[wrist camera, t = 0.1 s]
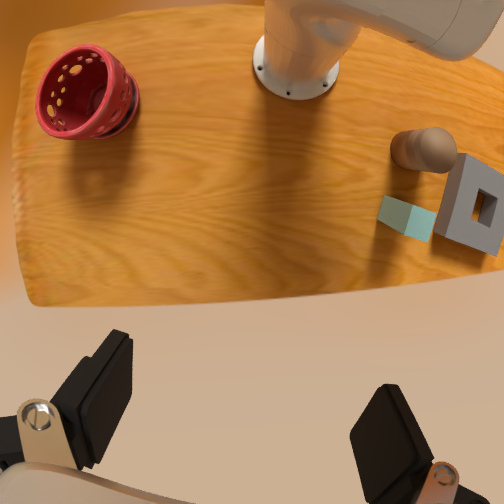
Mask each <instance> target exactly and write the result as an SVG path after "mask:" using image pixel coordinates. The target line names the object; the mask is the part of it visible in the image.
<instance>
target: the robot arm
mask: <svg viewBox="0 0 504 504" xmlns="http://www.w3.org/2000/svg"><path fill="white" fill-rule="evenodd" d="M503 10H504V0H265V25H264V35H263V36H262V37H261V38H260V39H259V41H258V42H257V44H256V46H255V48H254V52H253V66H254V70H255V73H256V75H257V77H258V79H259V80H260V82H261V83H262V84H263V85H264V86H265V87H266V88H267V89H268V90H270V91H271V92H272V93H274V94H276V95H278V96H280V97H283V98H286V99H290V100H308V99H312V98H315V97H318V96H320V95H322V94H323V93H324V92H326V91H327V90H328V89H329V88H330V87H331V86H332V85H333V83H334V82H335V80H336V78H337V76H338V72H339V59H340V58H341V57H342V56H343V55H344V53H345V52H346V51H347V50H348V49H349V47H350V46H351V45H352V44H353V42H354V41H355V40H356V39H357V37H358V35H359V33H360V31H361V27H365V28H370V29H373V30H375V31H378V32H380V33H383V34H385V35H388V36H390V37H392V38H395V39H397V40H399V41H402V42H404V43H406V44H408V45H410V46H412V47H414V48H416V49H419V50H421V51H423V52H425V53H427V54H429V55H431V56H434V57H436V58H438V59H441V60H445V61H451V62H456V61H461V60H465V59H467V58H469V57H470V56H472V55H473V54H474V53H476V52H477V51H478V50H479V49H480V48H481V47H482V45H483V44H484V43H485V42H486V40H487V39H488V37H489V36H490V34H491V32H492V31H493V29H494V27H495V25H496V24H497V22H498V20H499V18H500V16H501V14H502V12H503ZM259 68H261V69H262V70H261V71H259V70H258V69H259ZM323 85H325V86H326V87H323ZM287 92H289V93H290V95H287V94H286V93H287ZM132 359H133V339H130V338H129V334H127V333H124V332H121V331H118V330H115V329H113V330H112V331H111V332H110V334H109V335H108V336H107V338H106V339H105V340H104V342H103V343H102V344H101V345H100V347H99V348H98V349H97V351H96V352H95V353H94V354H93V356H92V357H88V356H85V357H84V358H83V359H82V360H81V361H80V362H79V363H78V365H77V366H76V367H75V369H74V370H73V371H72V372H71V374H70V375H69V376H68V378H67V379H66V380H65V382H64V383H63V384H62V386H61V387H60V388H59V390H58V391H57V392H56V394H55V395H54V396H53V398H52V399H51V400H50V402H48V401H46V400H42V399H31V400H28V401H26V402H24V403H23V404H22V405H21V406H20V407H19V409H18V411H17V415H15V416H8V417H0V504H194V503H189V502H185V501H180V500H176V499H172V498H168V497H164V496H159V495H156V494H152V493H149V492H145V491H142V490H138V489H135V488H131V487H128V486H125V485H122V484H119V483H116V482H113V481H110V480H107V479H104V478H101V477H98V476H95V475H93V474H90V473H86V472H83V471H81V470H82V469H83V467H84V466H85V467H88V468H90V469H92V468H93V466H94V463H97V464H99V463H100V462H101V460H102V458H103V455H104V453H105V451H106V449H107V446H108V444H109V442H110V440H111V438H112V436H113V434H114V432H115V430H116V427H117V425H118V423H119V421H120V419H121V417H122V415H123V413H124V411H125V408H126V407H127V405H128V402H129V400H130V398H131V395H132V361H133V360H132ZM350 441H351V445H352V449H353V453H354V456H355V460H356V464H357V467H358V472H359V476H360V479H361V484H362V488H363V492H364V496H365V500H366V502H367V503H369V504H490V503H489V501H488V500H487V499H486V498H484V497H482V496H481V495H479V494H476V493H475V492H473V491H471V490H469V489H467V488H465V487H463V486H461V485H459V474H458V472H457V470H456V469H455V468H454V467H453V466H452V465H451V464H449V463H446V462H436V463H435V464H433V463H432V460H433V459H434V456H433V454H432V452H431V450H430V448H429V446H428V444H427V441H426V439H425V438H424V435H423V433H422V431H421V429H420V427H419V425H418V423H417V421H416V419H415V417H414V415H413V413H412V411H411V409H410V407H409V405H408V403H407V401H406V399H405V397H404V395H403V393H402V392H401V390H400V388H399V386H398V385H396V384H383V385H382V386H381V387H379V388H378V389H377V390H376V392H375V393H374V395H373V397H372V398H371V400H370V402H369V403H368V405H367V407H366V408H365V410H364V412H363V413H362V415H361V416H360V418H359V419H358V421H357V422H356V424H355V425H354V427H353V428H352V430H351V432H350Z"/></svg>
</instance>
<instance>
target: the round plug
mask: <svg viewBox="0 0 504 504" xmlns="http://www.w3.org/2000/svg"><path fill="white" fill-rule="evenodd" d="M390 151H391V156H392V158H393V160H394V162H395V163H396V164H397V165H398V166H400V167H401V168H404V169H409V170H418V171H425V172H433V173H446V172H448V171H450V170H451V169H452V168H453V166H454V165H455V163H456V159H457V147H456V143H455V141H454V139H453V137H452V136H451V134H450V133H449V132H448V131H446V130H445V129H442V128H438V127H435V128H427V129H419V130H412V131H405V132H400V133H398V134H397V135H395V137H394V138H393V139H392V142H391V146H390Z"/></svg>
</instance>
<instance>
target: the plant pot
mask: <svg viewBox="0 0 504 504" xmlns="http://www.w3.org/2000/svg"><path fill="white" fill-rule="evenodd" d="M92 53H95V54H92ZM81 56H82V57H81ZM78 57H80V58H78ZM88 58H91V59H92V60H88V61H87V60H86V59H88ZM102 58H103V59H102ZM65 65H67V66H66V67H65V68H63V69H62V67H63V66H65ZM75 65H81V66H82V68H81V69H80V70H79V71H78V72H76V73H70V72H69V71H70V69H71V68H72V67H73V66H75ZM62 74H63V78H62V80H61V81H60V82H58V78H59V77H60V76H61V75H62ZM63 87H65V91H64V92H63V93H61V89H62V88H63ZM53 91H54V96H53V97H51V93H52V92H53ZM58 98H60V100H61V105H60V106H58V105H57V100H58ZM49 104H50V105H51V106H52V107H53V110H54V116H53V117H51V116H49V114H48V112H47V106H48V105H49ZM138 104H139V89H138V85H137V83H136V81H135V79H134V78H133V77H132V75H130V74H129V73H128V72H127V71H126V69H125V68H124V66H123V65H122V64H121V63H120V62H119V61H118V60H117V59H116V58H115V57H114V56H113V55H112V54H111V53H109V52H108V51H106V50H105V49H103V48H102V47H99V46H97V45H92V44H85V45H80V46H76V47H74V48H71V49H69V50H67V51H66V52H64V53H63V54H61V55H60V56H59V57H58V58H57V59H56V60H55V61H54V62H53V63H52V64H51V65H50V66H49V68H48V69H47V71H46V72H45V74H44V76H43V78H42V80H41V82H40V84H39V87H38V91H37V95H36V104H35V108H36V115H37V119H38V122H39V124H40V125H41V127H42V129H43V130H44V131H45V132H46V133H48V134H49V135H51V136H53V137H56V138H60V139H65V140H82V139H89V138H95V139H105V138H109V137H112V136H114V135H116V134H118V133H119V132H121V131H122V130H123V129H125V128H126V127H127V126H128V124H129V123H130V122H131V120H132V119H133V117H134V115H135V113H136V111H137V108H138ZM58 121H60V122H61V123H62V124H63V125H61V124H60V123H59V122H58ZM51 122H52V123H53V124H52V123H51Z"/></svg>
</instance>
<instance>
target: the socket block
mask: <svg viewBox="0 0 504 504" xmlns="http://www.w3.org/2000/svg"><path fill="white" fill-rule="evenodd" d="M478 192H480V193H482V194H484V195H485V196H484V200H483V204H482V208H481V212H480V215H479V219H478V222H476V221H474V220H472V219H471V216H472V212H473V209H474V205H475V201H476V197H477V193H478ZM433 231H434V232H436V233H438V234H440V235H442V236H444V237H446V238H449V239H451V240H454V241H457V242H459V243H462V244H465V245H467V246H470V247H473V248H475V249H478V250H480V251H483V252H486V253H488V254H491V255H493V256H496V257H497V254H498V251H499V248H500V245H501V242H502V239H503V235H504V175H502V174H501V173H499V172H498V171H496V170H494V169H493V168H491V167H489V166H488V165H486V164H484V163H483V162H481V161H479V160H477V159H476V158H474V157H472V156H470V155H469V154H467V153H457V159H456V163H455V165H454V166H453V168H452V169H451V170H450V171H449V175H448V179H447V183H446V187H445V191H444V195H443V199H442V202H441V206H440V209H439V213H438V216H437V220H436V223H435V226H434V229H433Z"/></svg>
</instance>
